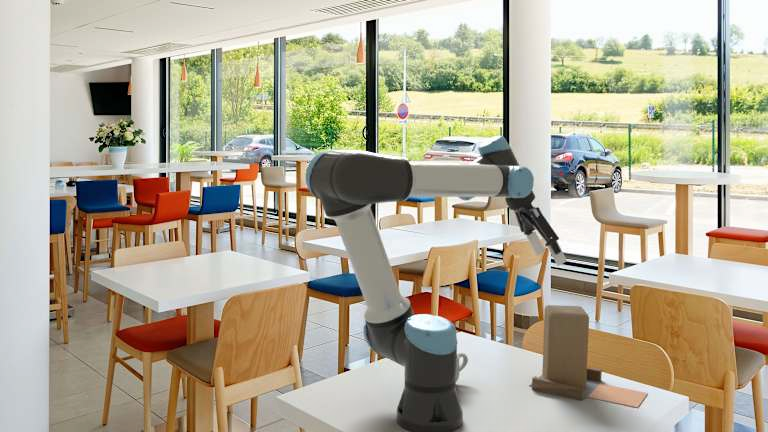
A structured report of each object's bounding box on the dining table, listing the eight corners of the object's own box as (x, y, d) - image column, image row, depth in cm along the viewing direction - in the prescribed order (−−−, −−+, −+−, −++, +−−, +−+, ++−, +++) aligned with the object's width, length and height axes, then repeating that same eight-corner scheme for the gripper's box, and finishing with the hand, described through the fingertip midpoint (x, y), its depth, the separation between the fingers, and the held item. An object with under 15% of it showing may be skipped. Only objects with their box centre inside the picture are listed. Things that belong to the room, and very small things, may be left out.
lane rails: (582, 400, 164) (582, 388, 164) (531, 389, 171) (532, 378, 171) (601, 380, 178) (601, 369, 178) (554, 370, 186) (554, 360, 185)
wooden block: (579, 377, 180) (582, 305, 178) (586, 391, 170) (590, 315, 168) (541, 375, 181) (544, 304, 179) (547, 389, 171) (549, 313, 169)
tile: (637, 408, 160) (637, 407, 160) (587, 397, 167) (587, 396, 167) (647, 393, 169) (647, 393, 169) (600, 384, 176) (600, 383, 176)
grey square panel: (586, 398, 166) (586, 397, 166) (529, 385, 174) (529, 385, 174) (601, 382, 177) (601, 382, 176) (546, 371, 185) (546, 371, 185)
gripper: (547, 188, 164) (584, 260, 168) (511, 180, 188) (544, 242, 193) (522, 203, 163) (559, 275, 168) (489, 193, 188) (522, 256, 192)
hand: (551, 258), depth 180 cm, fingers open, 13 cm apart
